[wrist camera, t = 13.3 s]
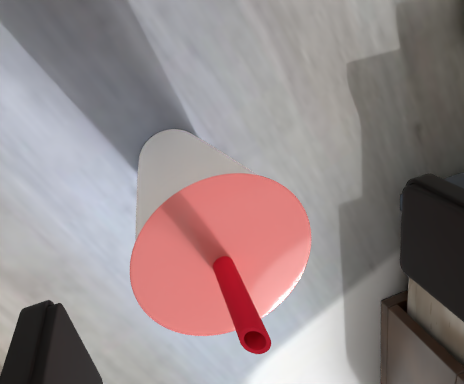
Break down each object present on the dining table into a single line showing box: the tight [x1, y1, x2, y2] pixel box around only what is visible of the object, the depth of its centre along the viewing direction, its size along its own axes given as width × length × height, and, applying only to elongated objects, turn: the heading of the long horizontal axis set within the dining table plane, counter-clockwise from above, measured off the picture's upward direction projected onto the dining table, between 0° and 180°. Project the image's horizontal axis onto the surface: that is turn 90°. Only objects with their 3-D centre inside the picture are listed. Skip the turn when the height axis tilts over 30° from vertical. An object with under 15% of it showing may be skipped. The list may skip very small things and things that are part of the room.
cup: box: [130, 129, 311, 354], centre depth 13 cm, size 5×5×12 cm
